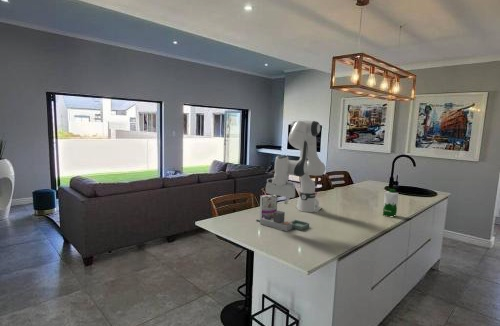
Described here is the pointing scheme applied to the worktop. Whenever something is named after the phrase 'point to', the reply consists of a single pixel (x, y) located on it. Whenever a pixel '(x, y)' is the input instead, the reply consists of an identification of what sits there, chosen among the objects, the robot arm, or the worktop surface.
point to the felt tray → (299, 225)
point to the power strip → (275, 223)
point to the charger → (279, 216)
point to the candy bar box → (267, 205)
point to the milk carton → (390, 203)
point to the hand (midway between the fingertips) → (279, 202)
